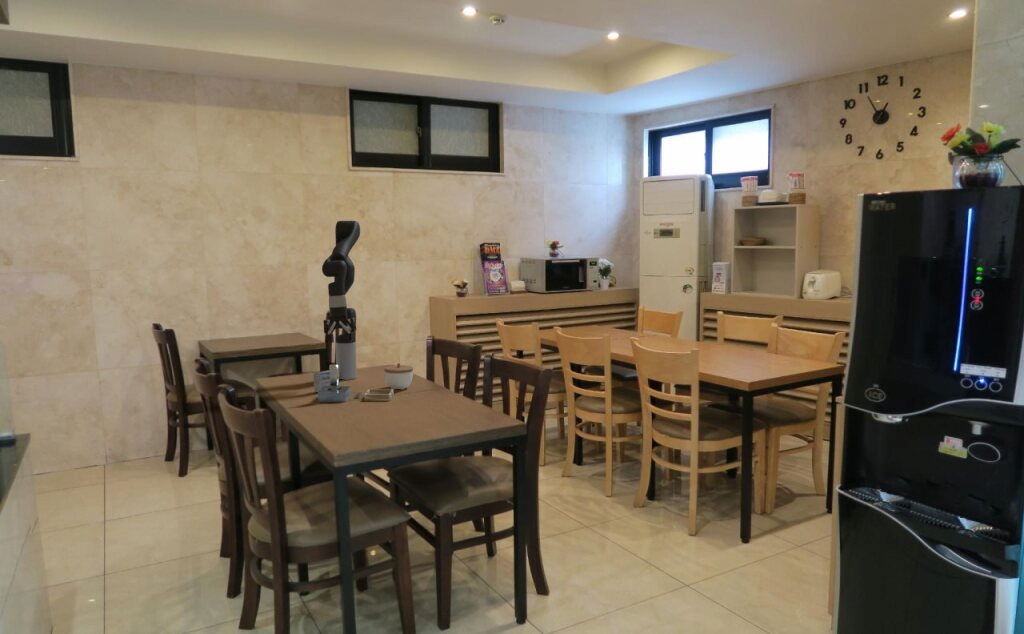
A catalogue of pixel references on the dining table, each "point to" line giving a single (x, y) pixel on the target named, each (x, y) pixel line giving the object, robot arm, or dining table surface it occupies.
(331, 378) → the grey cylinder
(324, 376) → the medicine box
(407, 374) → the lidded bowl
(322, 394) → the socket block
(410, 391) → the dining table surface
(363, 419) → the dining table surface
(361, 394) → the bar
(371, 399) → the tray
